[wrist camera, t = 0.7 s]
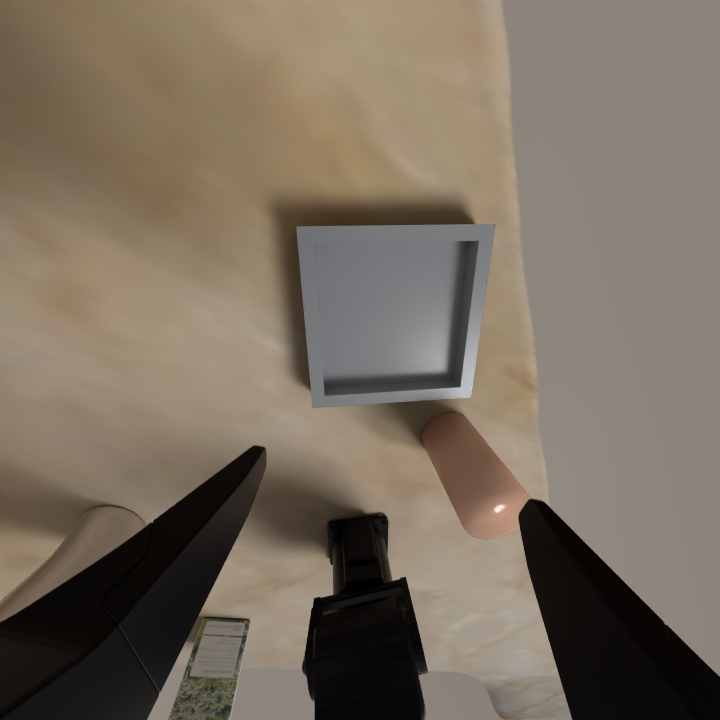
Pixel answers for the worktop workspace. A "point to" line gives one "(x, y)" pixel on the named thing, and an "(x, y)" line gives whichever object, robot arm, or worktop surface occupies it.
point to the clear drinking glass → (74, 554)
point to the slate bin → (392, 310)
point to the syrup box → (212, 671)
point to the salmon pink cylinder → (474, 477)
